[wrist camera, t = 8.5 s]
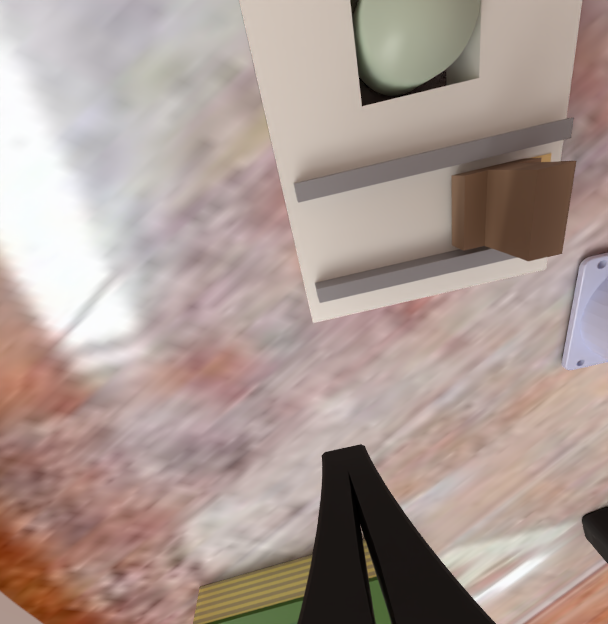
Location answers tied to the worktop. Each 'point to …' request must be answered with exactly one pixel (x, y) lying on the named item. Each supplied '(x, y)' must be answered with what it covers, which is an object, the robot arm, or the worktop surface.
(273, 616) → the hardcover book
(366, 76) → the sage button
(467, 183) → the walnut slider
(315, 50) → the control panel
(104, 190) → the worktop surface
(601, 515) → the walkie-talkie
